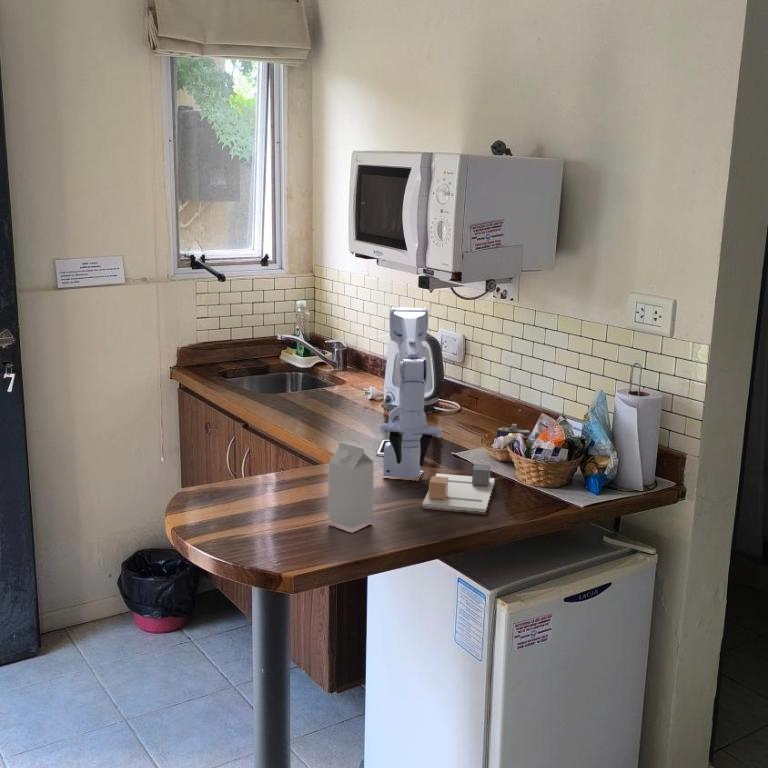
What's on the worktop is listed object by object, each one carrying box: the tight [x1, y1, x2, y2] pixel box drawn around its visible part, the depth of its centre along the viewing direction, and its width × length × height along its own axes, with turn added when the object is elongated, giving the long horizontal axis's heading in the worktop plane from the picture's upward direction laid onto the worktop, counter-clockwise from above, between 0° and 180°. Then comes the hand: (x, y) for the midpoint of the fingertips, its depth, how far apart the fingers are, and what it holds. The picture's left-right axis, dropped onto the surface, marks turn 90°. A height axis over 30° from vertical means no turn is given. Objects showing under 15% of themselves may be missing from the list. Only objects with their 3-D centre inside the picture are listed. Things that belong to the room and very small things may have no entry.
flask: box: [496, 423, 531, 438], centre depth 252 cm, size 9×3×11 cm, turn 78°
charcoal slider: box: [472, 463, 491, 486], centre depth 230 cm, size 4×4×4 cm
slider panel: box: [421, 473, 496, 512], centre depth 226 cm, size 15×22×2 cm
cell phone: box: [376, 438, 390, 455], centre depth 262 cm, size 8×15×1 cm, turn 173°
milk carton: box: [327, 441, 375, 528], centre depth 204 cm, size 7×7×19 cm
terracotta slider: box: [428, 475, 448, 499], centre depth 220 cm, size 4×4×4 cm
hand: (410, 463), depth 220 cm, fingers open, 5 cm apart
